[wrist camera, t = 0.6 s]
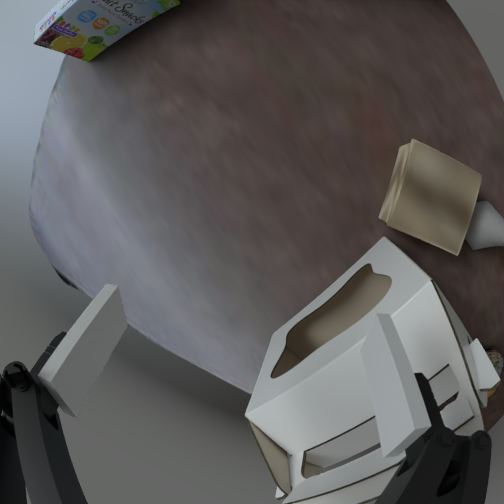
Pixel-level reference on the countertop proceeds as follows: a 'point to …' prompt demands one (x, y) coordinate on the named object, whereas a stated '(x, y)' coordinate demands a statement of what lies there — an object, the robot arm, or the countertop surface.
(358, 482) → the gable box
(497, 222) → the flask
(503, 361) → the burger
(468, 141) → the countertop surface
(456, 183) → the beech box
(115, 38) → the snack box
